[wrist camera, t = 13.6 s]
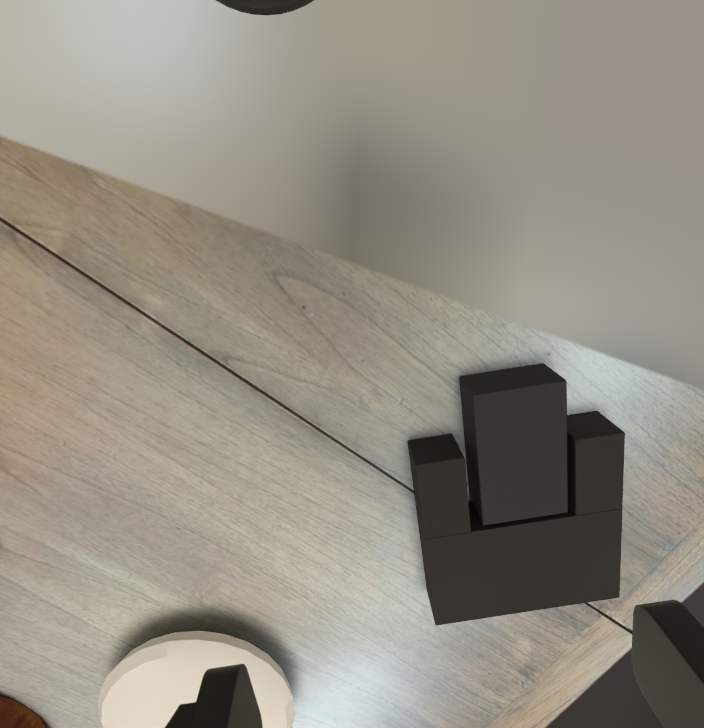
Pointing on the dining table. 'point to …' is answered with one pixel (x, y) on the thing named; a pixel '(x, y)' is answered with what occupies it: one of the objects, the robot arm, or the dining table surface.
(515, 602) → the socket pad
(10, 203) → the dining table surface
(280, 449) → the dining table surface
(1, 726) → the bread roll
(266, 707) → the pot lid
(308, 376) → the dining table surface
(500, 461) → the pad
